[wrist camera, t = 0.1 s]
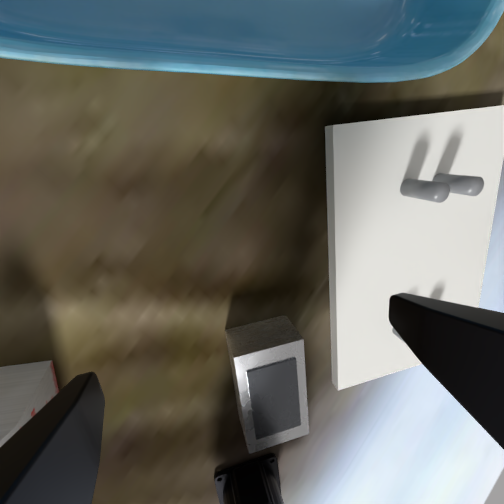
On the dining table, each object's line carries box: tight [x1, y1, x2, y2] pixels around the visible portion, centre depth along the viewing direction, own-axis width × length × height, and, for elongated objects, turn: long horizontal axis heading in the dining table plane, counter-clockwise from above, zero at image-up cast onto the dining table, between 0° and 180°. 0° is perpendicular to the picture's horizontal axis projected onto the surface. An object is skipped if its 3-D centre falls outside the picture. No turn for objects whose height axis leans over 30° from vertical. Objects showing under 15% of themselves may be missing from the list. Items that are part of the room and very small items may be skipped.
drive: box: [225, 315, 309, 454], centre depth 26 cm, size 10×6×4 cm, turn 7°
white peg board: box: [325, 105, 504, 390], centre depth 26 cm, size 24×16×4 cm, turn 7°
